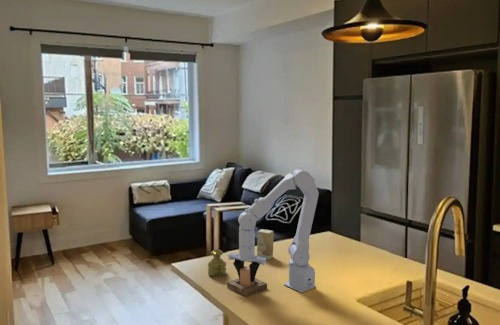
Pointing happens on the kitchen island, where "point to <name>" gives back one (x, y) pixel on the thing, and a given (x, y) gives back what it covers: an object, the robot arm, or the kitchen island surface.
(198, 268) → the kitchen island surface
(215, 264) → the olive green textured figure
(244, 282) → the peg
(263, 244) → the skincare box
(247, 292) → the socket block
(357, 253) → the kitchen island surface
